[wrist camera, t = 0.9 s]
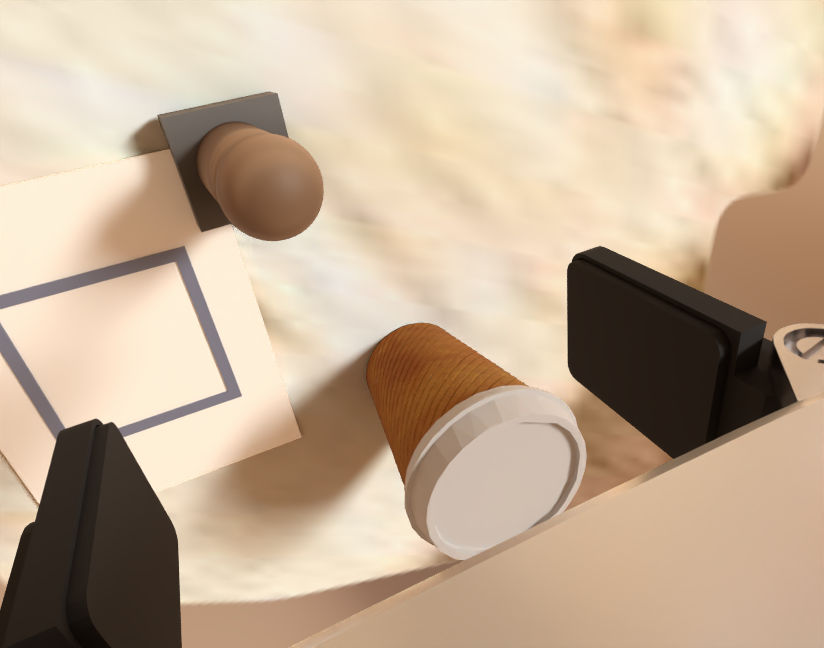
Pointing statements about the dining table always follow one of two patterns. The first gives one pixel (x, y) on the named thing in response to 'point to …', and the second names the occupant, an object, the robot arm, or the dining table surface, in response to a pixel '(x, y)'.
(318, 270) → the dining table surface
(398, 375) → the disposable coffee cup
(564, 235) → the dining table surface
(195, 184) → the stamp
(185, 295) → the sheet
